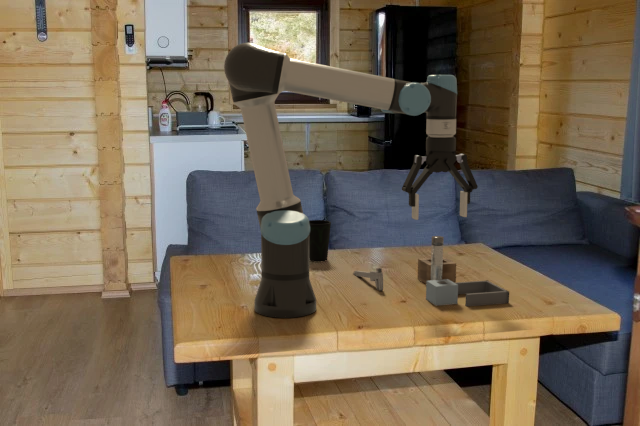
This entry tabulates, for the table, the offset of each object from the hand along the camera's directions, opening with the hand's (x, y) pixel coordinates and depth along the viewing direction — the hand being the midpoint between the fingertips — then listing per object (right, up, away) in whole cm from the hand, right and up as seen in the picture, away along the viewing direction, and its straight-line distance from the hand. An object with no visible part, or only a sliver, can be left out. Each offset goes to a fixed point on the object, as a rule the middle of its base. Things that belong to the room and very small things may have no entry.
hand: (439, 217), depth 200 cm
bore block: (+1, -18, +15) cm, 24 cm away
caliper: (-18, -18, +14) cm, 29 cm away
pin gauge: (0, -20, +3) cm, 20 cm away
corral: (+9, -21, -2) cm, 23 cm away
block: (0, -21, -5) cm, 22 cm away
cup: (-32, -14, +41) cm, 53 cm away
